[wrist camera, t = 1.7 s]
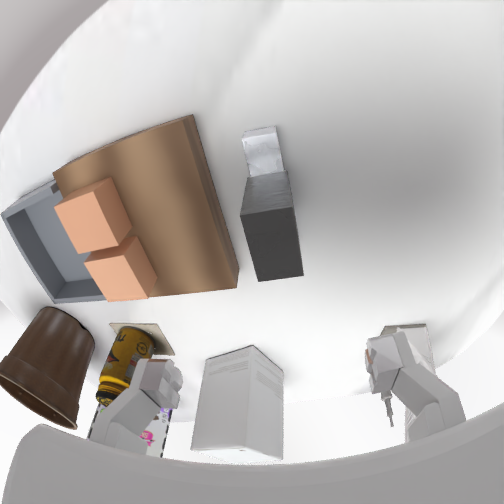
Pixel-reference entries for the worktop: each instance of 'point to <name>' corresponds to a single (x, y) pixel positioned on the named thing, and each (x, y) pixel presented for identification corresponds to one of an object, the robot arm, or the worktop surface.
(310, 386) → the worktop surface
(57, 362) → the plant pot
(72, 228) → the tile
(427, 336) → the skyscraper
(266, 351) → the worktop surface
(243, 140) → the scraper
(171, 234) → the board
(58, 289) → the tray
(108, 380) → the condiment
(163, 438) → the candy box
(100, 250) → the tile
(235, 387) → the supplement box
